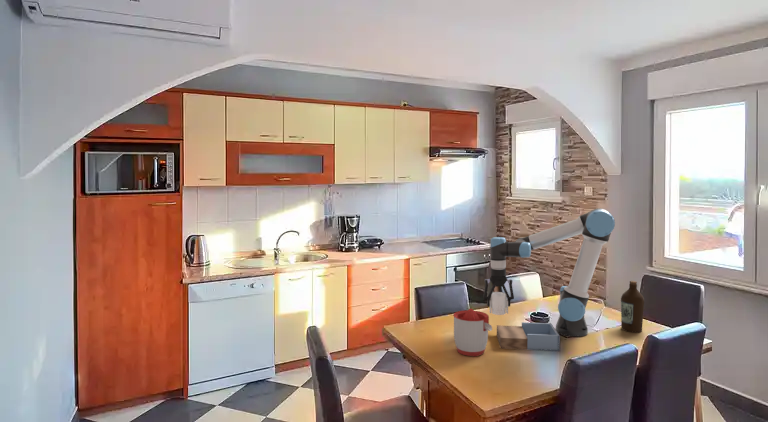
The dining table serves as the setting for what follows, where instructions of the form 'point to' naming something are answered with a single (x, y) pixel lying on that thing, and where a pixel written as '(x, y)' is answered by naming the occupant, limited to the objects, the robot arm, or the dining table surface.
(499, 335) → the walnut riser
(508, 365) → the dining table surface
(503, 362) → the dining table surface
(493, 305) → the white cup
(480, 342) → the citrus juicer
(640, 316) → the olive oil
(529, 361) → the dining table surface
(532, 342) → the box
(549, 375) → the dining table surface
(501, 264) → the robot arm
